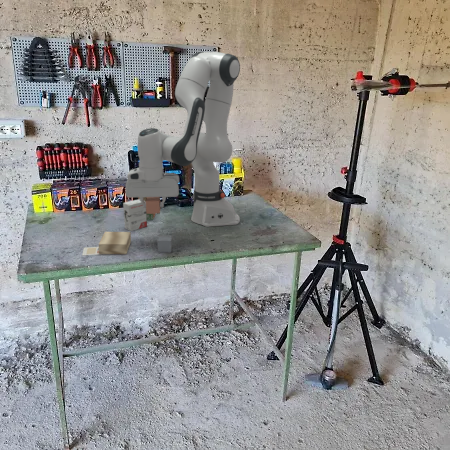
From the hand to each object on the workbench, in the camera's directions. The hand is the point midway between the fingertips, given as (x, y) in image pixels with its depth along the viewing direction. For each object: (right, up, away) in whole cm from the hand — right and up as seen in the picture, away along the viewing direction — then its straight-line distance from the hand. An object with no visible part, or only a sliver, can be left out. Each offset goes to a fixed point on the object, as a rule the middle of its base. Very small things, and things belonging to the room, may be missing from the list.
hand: (153, 207), depth 162 cm
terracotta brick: (0, -2, +1) cm, 2 cm away
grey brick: (+5, -17, -2) cm, 17 cm away
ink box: (-11, -8, +18) cm, 23 cm away
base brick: (-14, -16, -2) cm, 21 cm away
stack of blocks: (-8, -1, +37) cm, 38 cm away
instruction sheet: (-21, -17, -5) cm, 27 cm away
